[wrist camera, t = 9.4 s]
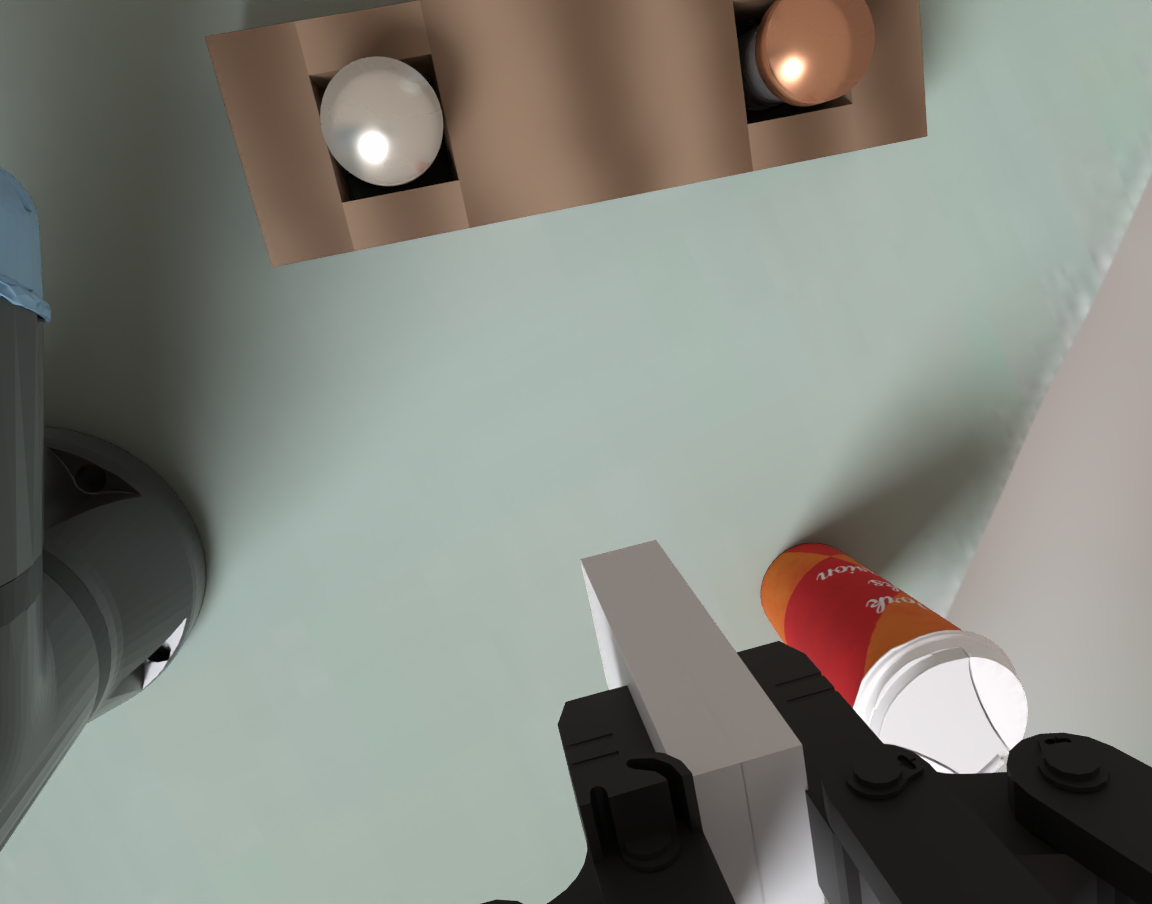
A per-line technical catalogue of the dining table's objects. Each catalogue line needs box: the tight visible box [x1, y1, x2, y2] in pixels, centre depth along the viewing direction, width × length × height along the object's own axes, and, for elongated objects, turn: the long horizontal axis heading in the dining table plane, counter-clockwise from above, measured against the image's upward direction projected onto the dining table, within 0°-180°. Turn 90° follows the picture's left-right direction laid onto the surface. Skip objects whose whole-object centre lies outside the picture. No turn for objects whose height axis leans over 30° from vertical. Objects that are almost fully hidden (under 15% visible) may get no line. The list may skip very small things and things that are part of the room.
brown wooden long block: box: [205, 0, 927, 267], centre depth 38 cm, size 30×9×6 cm, turn 100°
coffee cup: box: [761, 543, 1028, 774], centre depth 44 cm, size 8×8×15 cm
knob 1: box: [320, 56, 443, 186], centre depth 35 cm, size 5×5×7 cm
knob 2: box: [737, 0, 875, 110], centre depth 37 cm, size 5×5×7 cm
